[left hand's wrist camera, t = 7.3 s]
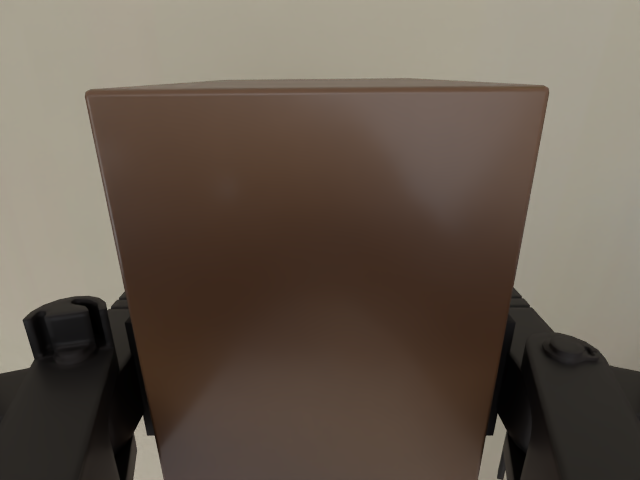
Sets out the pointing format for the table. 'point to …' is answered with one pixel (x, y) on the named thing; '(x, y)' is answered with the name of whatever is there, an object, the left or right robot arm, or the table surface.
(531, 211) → the table surface
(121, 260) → the post
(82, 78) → the table surface
